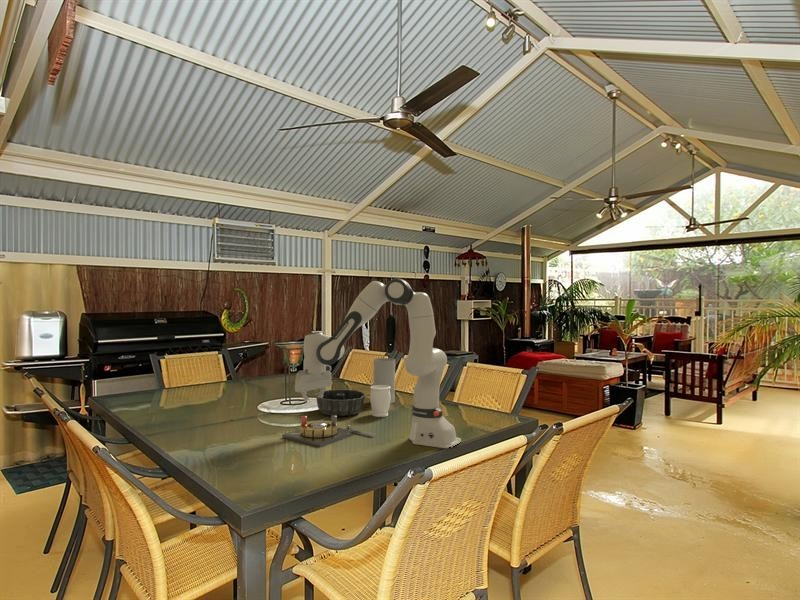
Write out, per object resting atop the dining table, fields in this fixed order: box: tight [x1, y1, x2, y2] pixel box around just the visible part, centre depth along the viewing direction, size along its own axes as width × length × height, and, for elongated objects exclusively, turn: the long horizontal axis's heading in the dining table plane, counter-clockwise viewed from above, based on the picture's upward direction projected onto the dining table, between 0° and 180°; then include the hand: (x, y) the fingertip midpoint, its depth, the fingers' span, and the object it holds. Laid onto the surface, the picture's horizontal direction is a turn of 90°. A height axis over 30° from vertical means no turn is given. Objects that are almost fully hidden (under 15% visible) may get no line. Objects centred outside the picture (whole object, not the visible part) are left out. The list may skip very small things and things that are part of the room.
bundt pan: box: [314, 388, 367, 417], centre depth 251 cm, size 26×26×10 cm
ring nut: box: [299, 415, 338, 438], centre depth 208 cm, size 16×16×7 cm
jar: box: [369, 385, 391, 418], centre depth 247 cm, size 11×10×15 cm
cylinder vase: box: [372, 357, 396, 405], centre depth 277 cm, size 12×12×25 cm
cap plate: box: [281, 422, 355, 448], centre depth 208 cm, size 22×22×6 cm
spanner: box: [345, 424, 376, 438], centre depth 213 cm, size 16×3×3 cm, turn 57°
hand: (313, 399), depth 213 cm, fingers open, 8 cm apart
